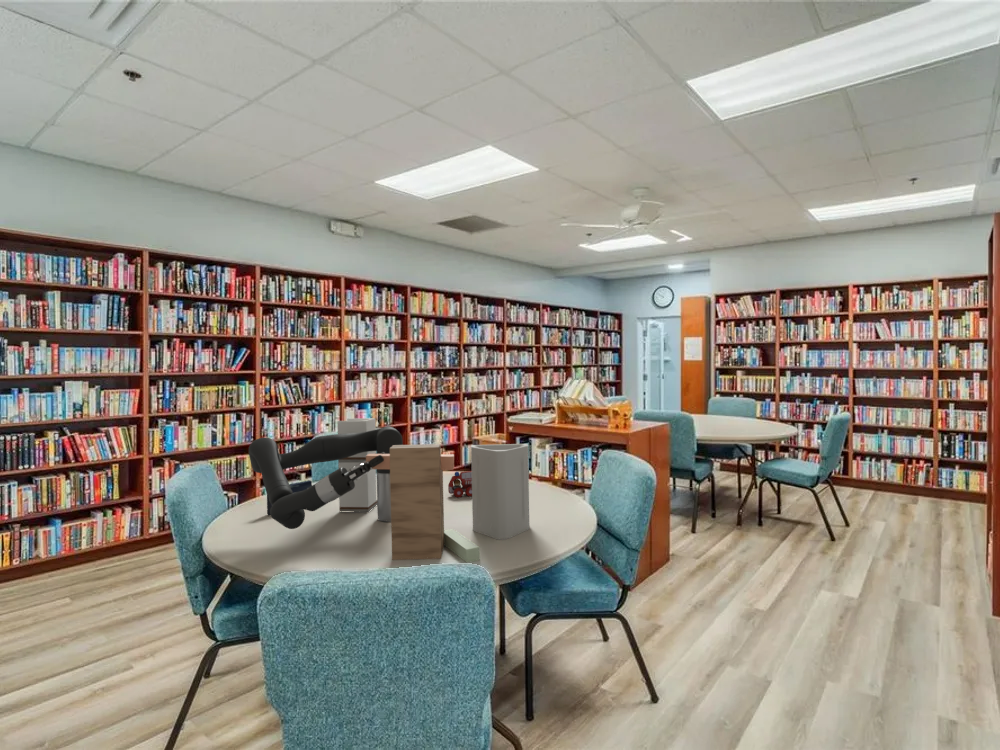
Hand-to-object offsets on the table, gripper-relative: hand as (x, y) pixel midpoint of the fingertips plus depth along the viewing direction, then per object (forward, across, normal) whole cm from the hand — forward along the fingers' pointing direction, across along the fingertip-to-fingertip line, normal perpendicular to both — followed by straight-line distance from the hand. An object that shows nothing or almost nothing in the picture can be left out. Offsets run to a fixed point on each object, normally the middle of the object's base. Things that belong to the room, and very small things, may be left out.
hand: (383, 456), depth 163 cm
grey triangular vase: (+17, -14, -42) cm, 47 cm away
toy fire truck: (+4, -66, -35) cm, 75 cm away
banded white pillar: (-31, -48, -15) cm, 60 cm away
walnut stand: (-5, +4, -30) cm, 30 cm away
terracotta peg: (+5, 0, -7) cm, 9 cm away
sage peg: (+5, +3, -36) cm, 37 cm away
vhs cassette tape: (-55, -50, -2) cm, 74 cm away
